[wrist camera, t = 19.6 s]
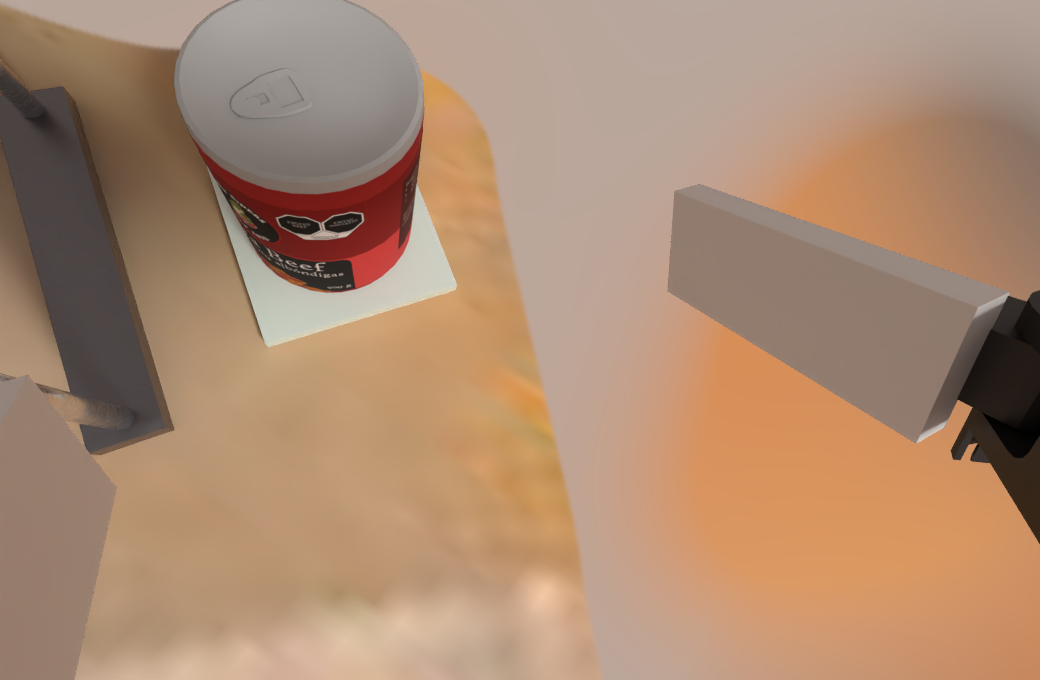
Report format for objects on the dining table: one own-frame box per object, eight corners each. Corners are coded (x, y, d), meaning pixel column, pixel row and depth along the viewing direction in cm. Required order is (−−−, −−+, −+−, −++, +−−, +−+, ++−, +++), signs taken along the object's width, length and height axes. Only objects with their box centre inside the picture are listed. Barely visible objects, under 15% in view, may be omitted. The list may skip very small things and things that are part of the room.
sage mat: (268, 347, 26) (265, 343, 26) (210, 173, 28) (206, 165, 27) (455, 290, 29) (457, 285, 29) (394, 136, 31) (395, 128, 30)
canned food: (218, 225, 26) (111, 61, 16) (339, 137, 29) (314, -50, 19) (330, 329, 26) (295, 232, 16) (440, 232, 29) (470, 95, 19)
